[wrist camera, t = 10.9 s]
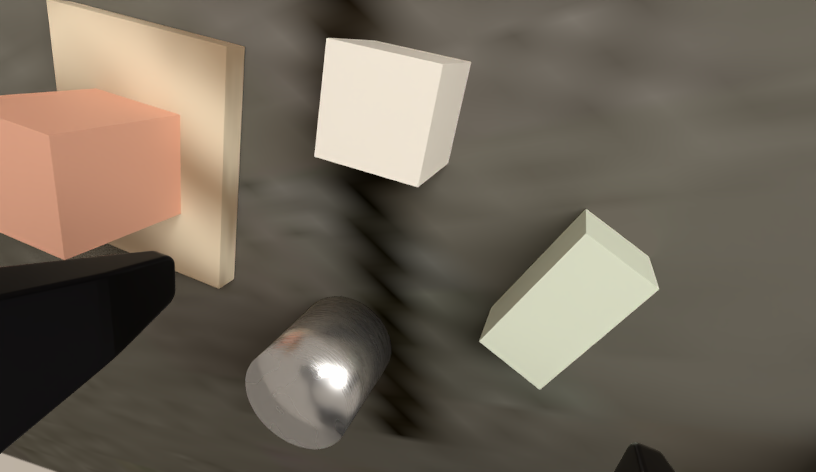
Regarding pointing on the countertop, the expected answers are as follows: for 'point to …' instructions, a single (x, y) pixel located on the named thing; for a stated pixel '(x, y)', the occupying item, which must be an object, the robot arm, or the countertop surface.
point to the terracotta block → (85, 168)
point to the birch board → (176, 92)
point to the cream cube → (389, 108)
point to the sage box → (568, 300)
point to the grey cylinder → (319, 372)
